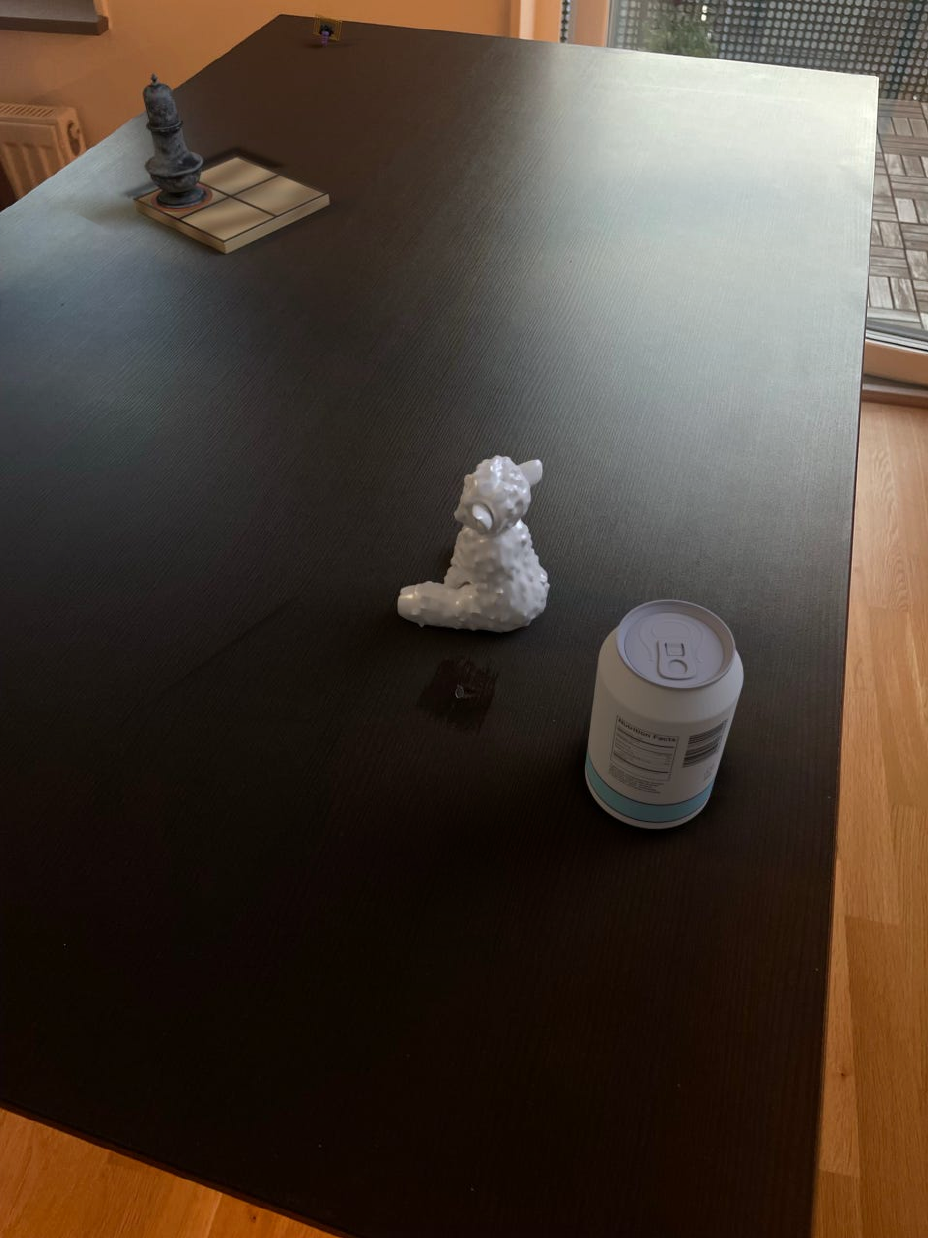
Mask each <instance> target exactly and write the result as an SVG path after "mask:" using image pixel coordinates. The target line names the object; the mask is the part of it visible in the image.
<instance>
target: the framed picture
mask: <svg viewBox="0 0 928 1238" xmlns="http://www.w3.org/2000/svg"><path fill="white" fill-rule="evenodd" d="M314 16H315V17H314V25H313V30H312V31H313V32H312V33H313V34H314V35H317V36H320V37H321V39H320V43H321V45H324V46H326V45H327V44H328V42H329V41H328V40H329V39H331V40H334V41H337V42H339V41H340V35H341V28H342V23H343V21H342V20H339V19H336V18H332V17H329V16H325V15H322V14H319V13H315V15H314ZM321 21H325V22H329V23H332V24H335V27H337V28H335V31H334V30H333V26H330V25H329V24H325V25H323V24H320V23H321ZM335 34H336V35H335Z"/></svg>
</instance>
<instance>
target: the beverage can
mask: <svg viewBox="0 0 928 1238" xmlns="http://www.w3.org/2000/svg"><path fill="white" fill-rule="evenodd" d="M595 676H596V677H595V685H594V693H593V701H592V709H591V716H590V717H591V718H590V726H589V735H588V742H587V749H586V756H585V757H586V758H585V765H584V774H585V781H586V785H587V787H588V790H589V792H590V794H591V795H592V797H593V798H594V800H595V801H596V802H597V804H598V805H599V806H600V807H601V808H602V809H603V810H604V811H605V812H606V813H608V814H609V815H611V816H612V817H614V818H615V819H617V820H619V821H620V822H623V823H625V824H627V825H630V826H633V827H636V828H637V827H638V828H641V829H649V830H663V829H668V828H673V827H677V826H680V825H682V824H684V823H686V822H688V821H690V820H692V819H693V818H695V817H696V816H697V815H698V814H699V813H700V812H702V810H703V809H704V807H705V806H706V805H707V803H708V800H709V798H710V797H711V793H712V790H713V787H714V783H715V780H716V776H717V773H718V769H719V766H720V762H721V759H722V757H723V753H724V749H725V746H726V742H727V739H728V735H729V733H730V728H731V726H732V722H733V719H734V715H735V712H736V708H737V705H738V702H739V699H740V695H741V691H742V688H743V685H744V666H743V663H742V660H741V656H740V655H739V652H738V650H737V649H736V641H735V638H734V636H733V633H732V631H731V630H730V628H729V627H728V625H727V624H726V623H725V622H724V621H723V620H722V619H721V617H719V616H718V615H717V614H716V613H714V612H712V611H711V610H709V609H707V608H705V607H703V606H701V605H699V604H696V603H694V602H690V601H685V600H679V599H657V600H652V601H648V602H645V603H642V604H640V605H638V606H636V607H634V608H633V609H631V610H630V611H629V612H628V613H626V615H625V616H623V618H622V619H621V620H620V623H619V624H618V626H616V627H615V628H613V630H612V631H611V632H610V633H609V634H608V635H607V637H606V638H605V640H604V641H603V643H602V645H601V648H600V650H599V654H598V661H597V668H596V675H595Z"/></svg>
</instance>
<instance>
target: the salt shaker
mask: <svg viewBox="0 0 928 1238" xmlns="http://www.w3.org/2000/svg"><path fill="white" fill-rule="evenodd" d="M149 79H150V80H151V81H152V82H150V83H149V84H147V85H146V86H145V87H144V88H143V91H142V99H143V102H144V103H143V104H144V107H145V111H146V115H147V119H148V122H147V123H146V124H145V127H146V129H147V131H150V135H151V139H152V143H153V149H154V152H153V153H154V155H153V156H151V157H150V158H149V159H147V160H146V162H145V163H144V170H145V171H146V172H147V174H149V177H150V179H151V180H152V182H153V183H154V185H155V186H156V188H157V187H158V188H160V189H162V191H161V192H160V193H159V194H158V195H157V197H156V202H157V204H158V205H159V206H161V207H164V208H168V209H183V208H189V207H192V206H195V205H198V204H200V203H201V202H203V201H204V200H205V199H206V198H207V193H206V191H205V190H204V189H203V188H201V187H199V186H196V185H197V183H198V182H199V180H200V177H201V171H202V170H203V169H202V166H203V163H204V160H203V157H202V156H201V155H200V154H199V153H196V152H193V151H189V149H188V147H187V146H186V143H185V139H184V134H183V128H182V127H183V125H184V121H183V119H182V118H179V115H178V111H177V106H176V100H175V97H174V92H173V90H172V88H171V87H170V86H169V85H168V84H166V83H163V82H160V81H158V79H159V78H158V76H157V75H156V74H155V73H152V75H151V77H150V78H149Z"/></svg>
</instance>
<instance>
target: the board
mask: <svg viewBox="0 0 928 1238" xmlns="http://www.w3.org/2000/svg"><path fill="white" fill-rule="evenodd" d="M196 186H199V187H201V188H203V189H204V190H205V191H206V193H207V198H206V199H205V200H204V201H203V202H201V203H200V204H198V205H195V206H192V207H189V208H183V209H168V208H164V207H161V206H159V205H158V204H157V202H156V197H157V195H158V194H159V193H160V192H161V191H162V189H160V188H159V187H158V188H155V189H153V190H150V191H148V192H146V193H143V194H141V195H139V196H136V197H133V198H132V200H133V203H134V207H135V210H136V212H139V213H141V212H142V213H141V214H142V215H145V216H147V217H149V218H150V219H153V220H155V221H157V222H158V223H161V224H163V225H165V226H167V227H169V228H171V229H174V230H175V231H178V232H180V233H181V234H184V235H186V236H188V237H189V238H192V239H194V240H196V241H199V242H200V243H203V244H204V245H206V246H209V247H211V248H212V249H214V250H217V251H219V252H221V253H223V254H225V255H227V254H230V253H232V252H234V251H236V250H238V249H240V248H242V247H244V246H246V245H249V244H250V243H253V242H255V241H257V240H259V239H261V238H263V237H265V236H267V235H269V234H272V233H274V232H276V231H277V230H280V229H282V228H284V227H287V226H289V225H290V224H292V223H294V222H297V221H300V220H301V219H303V218H306V217H307V216H309V215H311V214H313V213H315V212H318V211H319V210H321V209H323V208H326V207H328V206H330V205H331V204H330V196H329V192H327V191H325V190H323V189H320V188H317V187H315V186H313V185H311V184H308V183H305V182H303V181H300V180H298V179H295V178H293V177H291V176H288V175H286V174H284V173H281V172H279V171H276V170H274V169H272V168H269V167H267V166H264V165H262V164H259V163H257V162H254V161H252V160H250V159H247V158H244V157H242V156H239V155H234V156H232V157H229V158H227V159H225V160H222V161H220V162H218V163H215V164H213V165H211V166H208V167H206V168H203V169H202V171H201V177H200V180H199V182H198V183H197V185H196Z"/></svg>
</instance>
